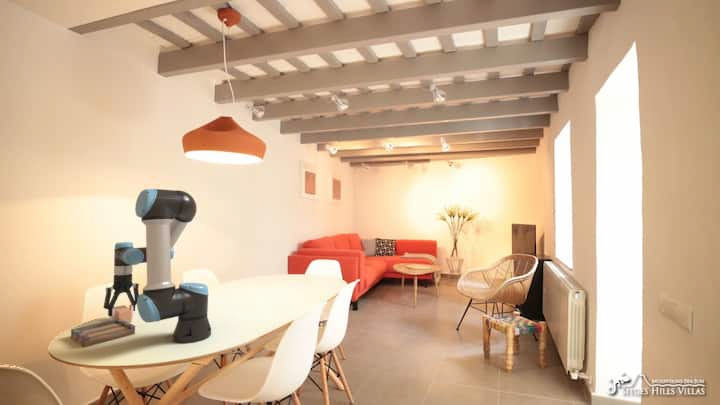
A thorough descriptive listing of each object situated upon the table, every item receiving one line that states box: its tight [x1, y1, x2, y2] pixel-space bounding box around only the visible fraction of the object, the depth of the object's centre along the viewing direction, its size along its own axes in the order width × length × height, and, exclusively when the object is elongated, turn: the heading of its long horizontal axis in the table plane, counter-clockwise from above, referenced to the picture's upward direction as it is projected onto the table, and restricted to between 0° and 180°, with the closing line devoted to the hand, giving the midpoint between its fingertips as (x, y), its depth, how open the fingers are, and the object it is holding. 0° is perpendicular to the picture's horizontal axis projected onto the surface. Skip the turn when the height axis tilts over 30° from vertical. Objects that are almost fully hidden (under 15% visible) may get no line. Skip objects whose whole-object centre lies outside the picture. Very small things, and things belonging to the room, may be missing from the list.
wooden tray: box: [70, 319, 136, 348], centre depth 148 cm, size 16×18×4 cm
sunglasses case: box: [113, 304, 132, 324], centre depth 168 cm, size 13×5×6 cm, turn 47°
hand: (121, 320), depth 167 cm, fingers open, 7 cm apart
